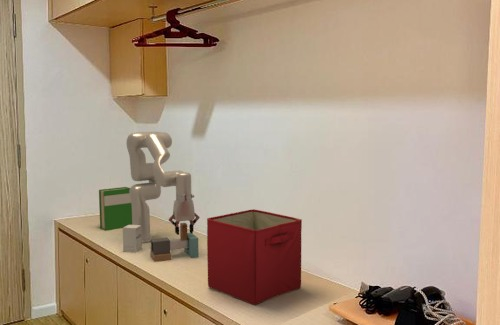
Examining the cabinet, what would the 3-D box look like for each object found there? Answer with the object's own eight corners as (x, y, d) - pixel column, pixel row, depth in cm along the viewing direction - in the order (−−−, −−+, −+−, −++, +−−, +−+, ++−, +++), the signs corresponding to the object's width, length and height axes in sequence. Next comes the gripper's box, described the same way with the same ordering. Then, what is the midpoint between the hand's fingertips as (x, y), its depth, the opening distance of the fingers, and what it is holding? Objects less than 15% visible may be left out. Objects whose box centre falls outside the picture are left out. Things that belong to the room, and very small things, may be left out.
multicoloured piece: (162, 248, 253) (162, 224, 252) (190, 245, 259) (189, 222, 257) (164, 250, 250) (164, 226, 248) (192, 247, 255) (192, 223, 254)
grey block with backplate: (150, 256, 254) (150, 238, 253) (166, 254, 257) (166, 236, 256) (154, 261, 245) (154, 242, 244) (171, 259, 248) (171, 241, 247)
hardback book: (105, 230, 309) (103, 191, 306) (100, 228, 314) (98, 189, 312) (132, 226, 320) (131, 188, 317) (126, 224, 326) (125, 186, 323)
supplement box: (136, 252, 261) (135, 228, 260) (122, 251, 263) (122, 227, 262) (142, 248, 269) (141, 224, 267) (129, 248, 270) (128, 224, 269)
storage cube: (306, 289, 207) (307, 218, 204) (259, 308, 188) (259, 230, 185) (249, 271, 230) (249, 207, 227) (202, 287, 210) (201, 217, 207)
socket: (184, 251, 262) (184, 233, 261) (191, 251, 263) (191, 232, 262) (191, 258, 251) (190, 238, 250) (198, 257, 252) (198, 237, 251)
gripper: (198, 195, 260) (198, 230, 262) (164, 197, 253) (165, 233, 255) (202, 197, 253) (203, 233, 255) (168, 200, 246) (169, 237, 248)
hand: (184, 233), depth 255 cm, fingers open, 6 cm apart
